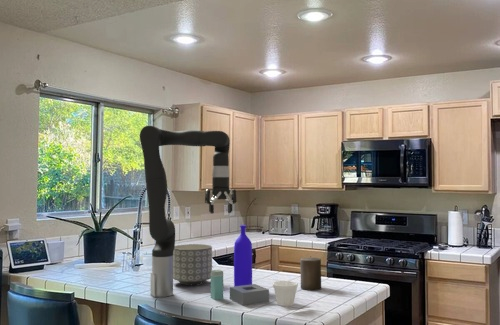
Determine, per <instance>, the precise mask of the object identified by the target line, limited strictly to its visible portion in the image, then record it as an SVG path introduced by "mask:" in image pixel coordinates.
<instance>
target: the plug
mask: <svg viewBox="0 0 500 325" xmlns="http://www.w3.org/2000/svg"><path fill="white" fill-rule="evenodd" d="M210 298H211V299H212V300H214V301H215V300H216V301H217V300H223V299H224V271H223V270H221V269H214V270H213V269H212V270H211V279H210Z"/></svg>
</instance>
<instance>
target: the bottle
mask: <svg viewBox="0 0 500 325" xmlns="http://www.w3.org/2000/svg"><path fill="white" fill-rule="evenodd" d="M239 227H240V235H239V236H238V237H237V239H236V240H235V242H234V244H233V248H234V250H233V287H234V286H242V285H251V284H253V244H252V241H251V239H250V238H249V236H247V234H246V228H247V225H245V224H244V225H243V224H241V225H239Z"/></svg>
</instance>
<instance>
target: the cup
mask: <svg viewBox="0 0 500 325" xmlns="http://www.w3.org/2000/svg"><path fill="white" fill-rule="evenodd" d="M272 288H273V289H274V294H275V298H276V303H277V305H278V306H281V307H291V306H293V305H294V303H295V298H296V293H297V289H298V282H296V281H292V280H291V281H290V280H277V281H273V283H272Z"/></svg>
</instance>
